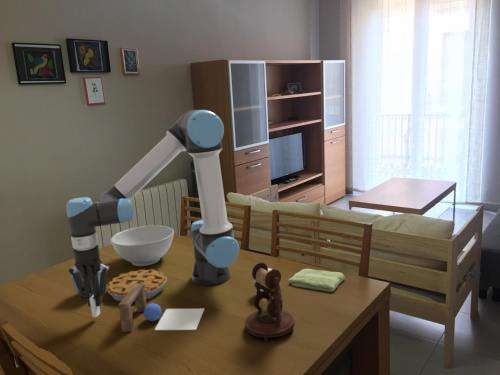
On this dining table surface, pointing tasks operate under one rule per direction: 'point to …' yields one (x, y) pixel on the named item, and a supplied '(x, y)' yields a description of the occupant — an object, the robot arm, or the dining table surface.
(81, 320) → the dining table surface
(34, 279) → the dining table surface
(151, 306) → the ball
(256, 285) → the brown wooden tall piece
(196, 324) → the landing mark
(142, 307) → the bridge
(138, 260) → the decorative bowl
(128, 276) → the pie
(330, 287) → the washcloth
